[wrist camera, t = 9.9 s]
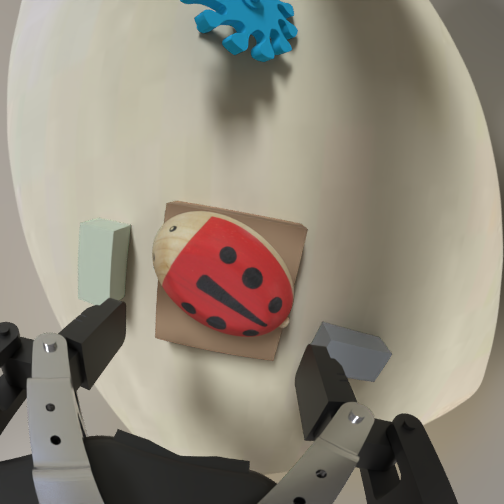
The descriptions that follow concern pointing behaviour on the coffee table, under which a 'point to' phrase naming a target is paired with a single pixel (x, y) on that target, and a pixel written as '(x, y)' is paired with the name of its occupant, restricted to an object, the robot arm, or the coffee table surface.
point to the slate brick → (354, 351)
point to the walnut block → (200, 336)
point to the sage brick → (102, 260)
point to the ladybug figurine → (223, 274)
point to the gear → (250, 25)
